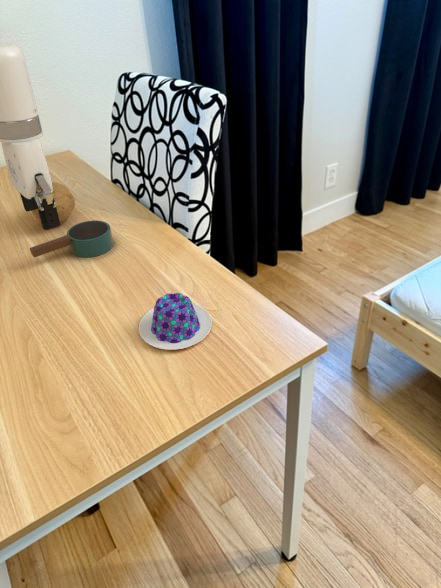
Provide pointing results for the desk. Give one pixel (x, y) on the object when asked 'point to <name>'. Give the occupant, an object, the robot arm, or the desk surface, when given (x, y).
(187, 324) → the pudding
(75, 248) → the pan
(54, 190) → the potato
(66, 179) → the desk surface
